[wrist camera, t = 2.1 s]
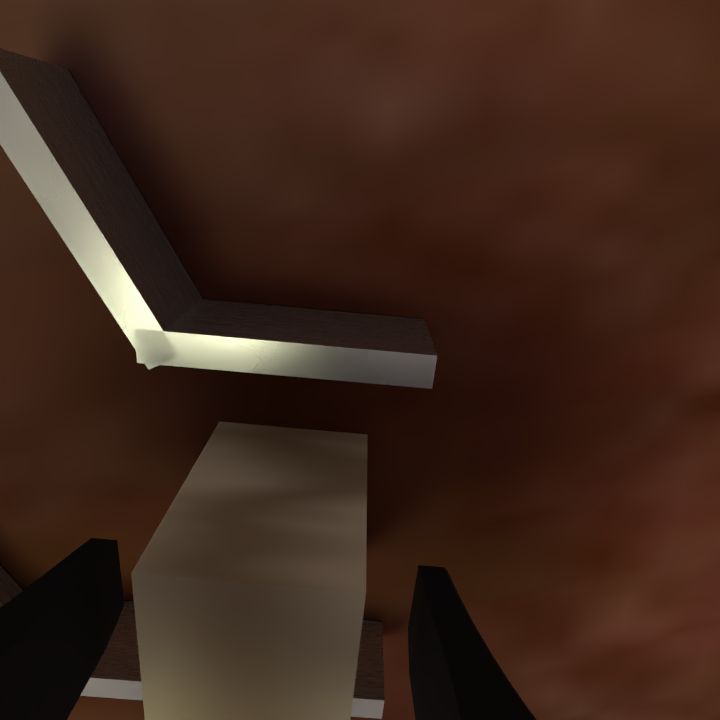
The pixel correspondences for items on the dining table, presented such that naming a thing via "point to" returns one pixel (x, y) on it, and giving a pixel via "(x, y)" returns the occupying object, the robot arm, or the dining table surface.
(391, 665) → the dining table surface
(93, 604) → the robot arm
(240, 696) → the maple block
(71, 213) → the rail track
